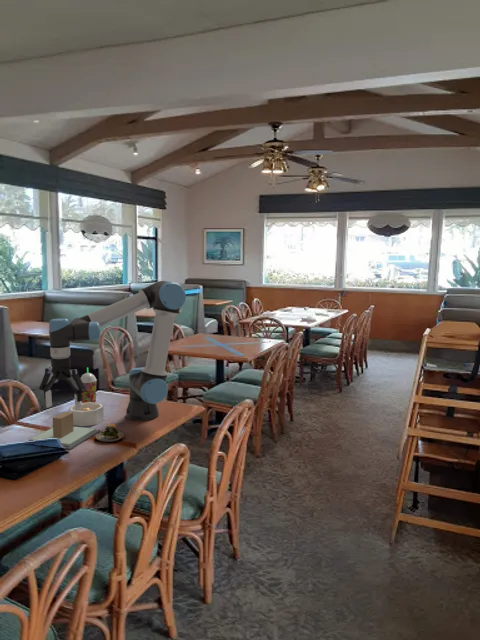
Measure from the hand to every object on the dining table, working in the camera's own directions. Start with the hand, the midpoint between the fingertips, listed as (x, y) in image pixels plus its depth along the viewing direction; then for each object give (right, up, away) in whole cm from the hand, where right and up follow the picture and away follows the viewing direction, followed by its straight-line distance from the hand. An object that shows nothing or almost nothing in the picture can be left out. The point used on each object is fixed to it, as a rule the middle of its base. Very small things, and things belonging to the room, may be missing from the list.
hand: (63, 407), depth 197 cm
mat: (0, -13, +1) cm, 13 cm away
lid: (0, -12, +1) cm, 12 cm away
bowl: (+2, -10, +23) cm, 25 cm away
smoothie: (-3, -8, +44) cm, 45 cm away
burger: (+19, -13, +1) cm, 23 cm away
